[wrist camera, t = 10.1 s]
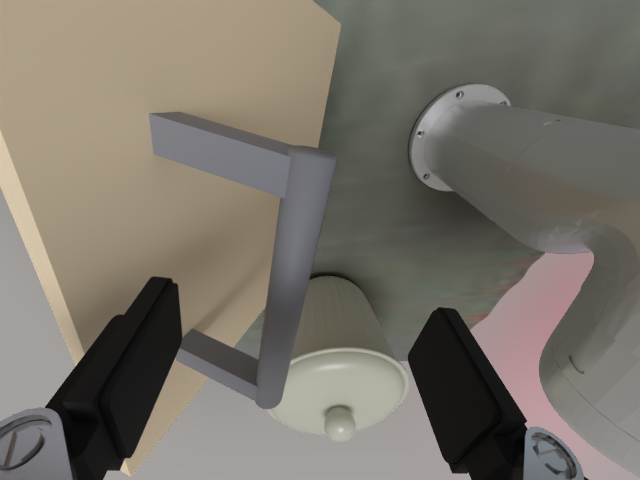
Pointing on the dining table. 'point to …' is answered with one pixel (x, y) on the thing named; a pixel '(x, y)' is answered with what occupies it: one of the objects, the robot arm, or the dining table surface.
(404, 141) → the dining table surface
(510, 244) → the dining table surface
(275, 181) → the carton lid
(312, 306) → the canister
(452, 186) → the robot arm
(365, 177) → the dining table surface
